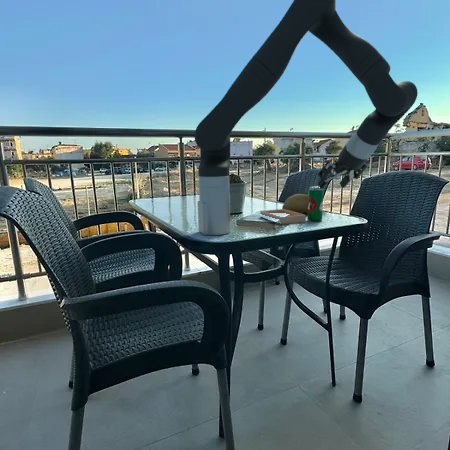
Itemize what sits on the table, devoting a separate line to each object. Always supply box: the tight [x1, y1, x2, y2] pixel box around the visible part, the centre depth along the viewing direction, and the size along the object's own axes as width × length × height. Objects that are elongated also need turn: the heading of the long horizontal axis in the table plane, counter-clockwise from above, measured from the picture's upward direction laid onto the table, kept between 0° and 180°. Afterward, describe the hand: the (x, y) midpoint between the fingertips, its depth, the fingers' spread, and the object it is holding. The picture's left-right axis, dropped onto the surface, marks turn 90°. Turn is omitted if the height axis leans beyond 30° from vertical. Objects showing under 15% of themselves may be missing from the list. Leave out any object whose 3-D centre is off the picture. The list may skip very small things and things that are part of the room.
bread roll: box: [281, 193, 308, 214], centre depth 128 cm, size 10×15×8 cm, turn 82°
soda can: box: [306, 185, 324, 223], centre depth 113 cm, size 5×5×12 cm
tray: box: [259, 208, 307, 225], centre depth 117 cm, size 10×15×2 cm, turn 21°
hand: (330, 186), depth 104 cm, fingers open, 8 cm apart
